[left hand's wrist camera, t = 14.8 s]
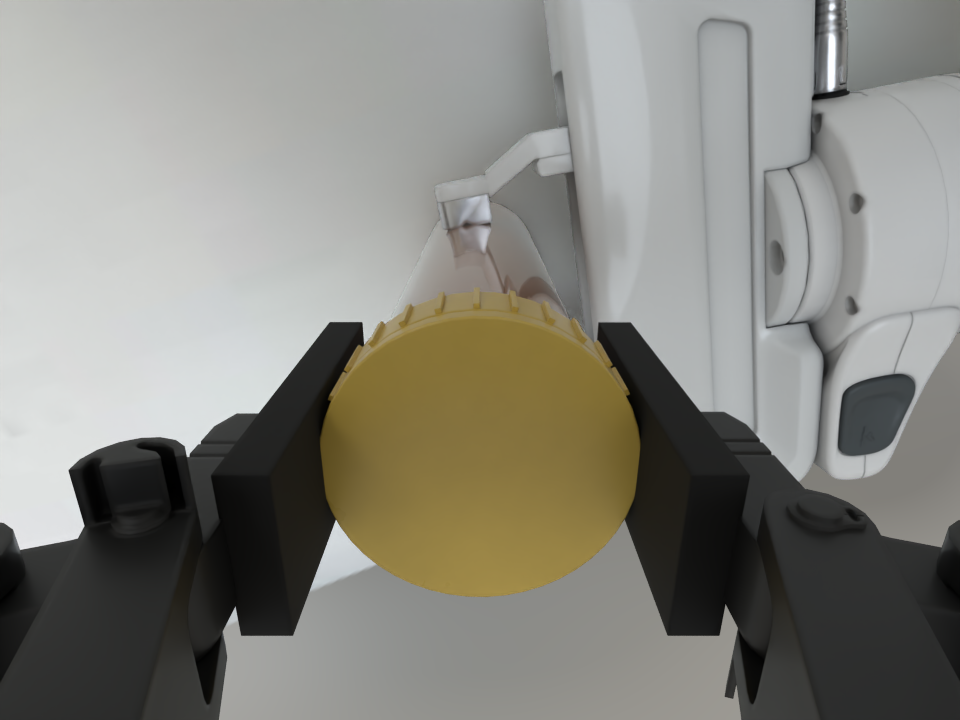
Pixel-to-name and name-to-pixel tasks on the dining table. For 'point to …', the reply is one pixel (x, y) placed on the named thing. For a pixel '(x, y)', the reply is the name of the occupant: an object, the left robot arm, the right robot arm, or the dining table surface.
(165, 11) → the dining table surface
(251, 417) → the left robot arm
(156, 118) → the dining table surface
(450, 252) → the bottle
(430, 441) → the lid
